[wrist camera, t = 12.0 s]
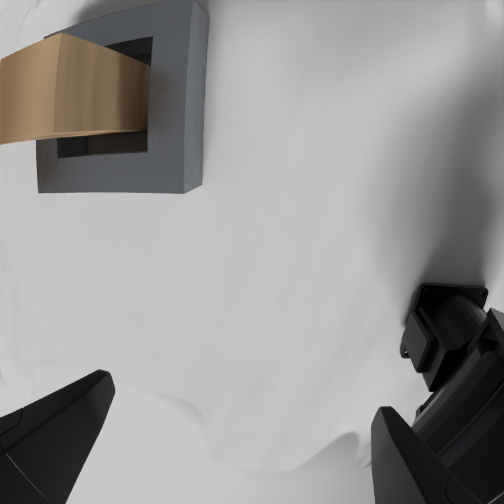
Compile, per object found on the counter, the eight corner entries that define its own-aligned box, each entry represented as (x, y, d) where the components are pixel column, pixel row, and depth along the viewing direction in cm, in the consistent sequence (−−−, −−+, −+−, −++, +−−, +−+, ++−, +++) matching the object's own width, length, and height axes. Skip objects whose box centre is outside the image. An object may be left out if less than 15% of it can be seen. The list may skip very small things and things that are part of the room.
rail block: (209, 17, 16) (193, -3, 13) (202, 184, 20) (183, 193, 17) (72, 44, 17) (43, 37, 14) (67, 184, 21) (38, 193, 18)
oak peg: (157, 68, 18) (61, 32, 8) (154, 130, 19) (53, 133, 10) (103, 77, 18) (0, 59, 9) (101, 134, 20) (-5, 145, 10)
